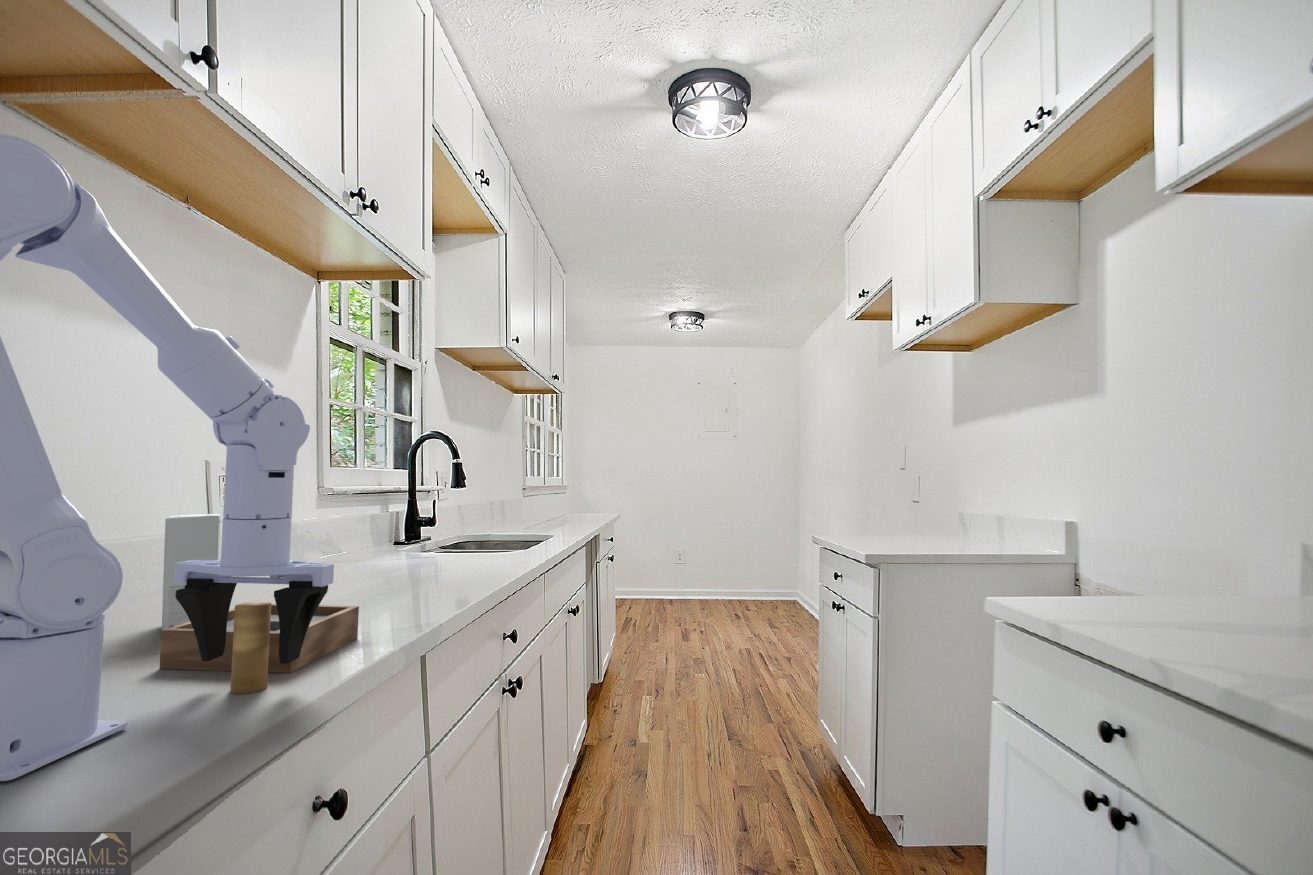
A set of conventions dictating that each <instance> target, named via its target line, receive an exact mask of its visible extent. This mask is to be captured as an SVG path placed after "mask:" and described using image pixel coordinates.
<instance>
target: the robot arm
mask: <svg viewBox="0 0 1313 875" xmlns="http://www.w3.org/2000/svg"><path fill="white" fill-rule="evenodd" d="M18 244H21V245H22V246H21V248H20V249H19V250H18V251H17V252H16V253H15V258H18V259H21V260H23V261H27V262H32V263H34V264H35V263H36V264H39V265H45V266H47V267H48V266H49V267H52V268H56V269H61V270H64V271H69V272H71V273H72V274H74V275H76V276H77V278H79V279H80V280H81V281H82V282H83V283H84V284H86V285H87V286H88V287H89V288H90V289H92V291H93V292H95V293H96V294H97V295H98V296H99V297H100V298H102V300H103V301H105V302H106V303H107V304H108V305H109V306H110V307H111V308H113V309H114V310H115V311H116V313H118V314H119V315H120V316H122V317H123V318H124V319H125V320H126V321H127V322H128V323H130V325H131V326H132V327H134V328H135V329H136V330H137V331H139V332H140V333H141V334H142V335H143V336H144V337H145V338H146V339H147V340H149V341H150V342H151V343H152V344H153V345H154V346H155V347H156V348H157V368H158V370H159V372H161V373H162V374H163V375H164V376H165V377H167V379H168V380H170V381H171V382H172V383H173V384H174V385H175V386H176V388H178V389H179V390H180V391H181V392H182V393H183V394H184V395H185V396H186V397H187V398H188V399H189V400H190V401H192V402H193V404H194V405H196V407H197V408H199V409H200V410H201V411H202V412H203V413H204V414H205V415H206V416H207V417H208V418H209V419H210V420H212V427H213V428H212V430H213V433H214V437H215V439H216V440H217V442H218V443H219V444H221V445H224V446H225V447H226V454H225V456H226V457H225V471H224V472H225V475H224V489H223V490H224V491H223V493H224V494H223V510H222V513H223V515H222V528H221V545H220V546H221V548H220V551H221V552H220V559H219V560H190V561H184V562H179V563H176V569H175V583H186V585H185V588H183V589H179V590H176V595H175V596H176V599H177V600H178V602H179V603H180V604H181V606H182V607H183V609H184V610H185V612H186V614H187V616H188V618H189V620H190V622H191V624H192V627H193V629H194V632H195V635H196V639H197V643H198V646H199V651H200V655H201V659H202V661H210V660H213V659H215V658H218V657H220V656H223V653H224V649H225V644H226V630H227V618H228V613H229V610H230V609H231V608H230V606H231V603H232V599H233V596H234V593H235V589H236V586H238V584H257V585H258V584H264V585H267V584H268V585H270V584H271V585H288V587H284V588H281V589H277V590H274V591H273V597H274V601H275V604H276V605H277V610H278V616H279V626H280V638H279V659H280V663H281V664H287V663H290V662H292V661H294V660H296V659H298V658H299V656H300V652H301V648H302V645H303V641H304V638H305V635H306V632H307V630H308V627H309V625H310V622H311V620H312V618H313V616H314V613H315V612H316V610H317V608H318V606H319V605H321V602H322V601H323V599H324V597H325V596H326V595H327V593H328V591H329V585H331V584H334V573H335V572H334V570H335V569H334V568H335V564H334V563H329V562H328V563H327V562H326V563H325V562H314V561H313V562H312V561H303V560H302V561H301V560H291V558H290V555H291V538H292V537H291V536H292V519H293V518H292V516H293V515H292V514H293V501H294V500H293V496H294V494H293V493H294V475H295V474H294V473H295V466H296V465H297V460H298V458H297V457H298V456H297V455H298V452H299V450H300V449H301V447H302V446H304V444H305V442H306V441H307V439H308V437H309V433H310V429H311V426H310V424H307V423H306V421H305V420H306V419H305V416H304V414H303V411H302V409H301V408H300V407H299V405H298V404H297V403H296V402H295V401H294V400H292V399H291V398H290V397H287V396H283V395H281V394H275V392H274V390H273V389H274V384H273V383H272V382H271V381H270V380H269V379H268V378H265V379H264V378H263V377H262V376H260V374H259V373H258V372H257V371H256V370H255V368H253V367H252V366H251V364H249V363H248V361H247V360H246V359H245V358H244V357H243V356H242V355H241V354H240V353H239V352H238V349H239V348H240V347H241V346H240V344H239V343H238V342H237V340H235V338H234V337H232V336H223V334H221V333H220V331H218V330H217V329H213V328H205V327H201V326H197V325H195V324H194V323H193V322H192V321H191V320H190V319H189V317H188V316H187V315H186V314H185V312H183V311H182V309H181V308H180V307H179V306H178V305H177V303H176V302H175V301H174V300H173V299H172V297H171V296H170V295H169V294H168V293H167V292H166V290H164V288H163V287H162V286H161V285H160V284H159V282H158V281H157V280H156V279H155V278H154V276H153V275H152V274H151V273H150V271H148V270H147V268H146V267H145V266H144V265H143V263H142V262H141V261H140V260H139V259H138V258H137V256H136V255H135V254H134V253H133V251H132V250H131V249H130V248H129V247H128V246H127V245H126V244H125V243H124V241H123V240H122V239H121V238H120V237H119V235H118V234H117V233H116V232H115V230H114V229H113V228H112V226H111V225H110V223H109V221H108V220H107V218H106V216H105V215H104V213H103V211H102V209H101V208H100V206H99V204H98V202H97V200H96V198H95V197H94V196H93V195H92V194H91V193H90V192H89V191H87V190H86V189H85V188H84V187H83V186H82V185H80V184H79V183H78V182H76V183H73V180H72V178H71V176H70V174H69V173H68V171H67V170H66V169H65V167H64V166H63V165H62V163H60V161H59V160H58V159H56V157H54V156H53V155H52V153H49V151H47V150H45V149H44V148H43V147H41V146H39V145H38V144H36V143H34V142H31V141H30V140H28V139H24V138H21V137H20V136H19V137H18V136H14V135H11V134H4V133H0V262H2V261H3V260H4V258H6V257H7V256H8V255H9V253H10V252H12V250H13V248H14V247H16V246H17V245H18ZM24 395H25V394H24V393H23V390H22V388H21V385H20V381H19V379H18V376H17V375H16V372H15V369H14V367H13V364H12V362H11V359H10V356H9V354H8V351H7V349H6V346H5V344H4V342H3V339H2V336H1V335H0V782H7V781H12V780H14V779H15V780H16V779H17V778H19V777H21V776H24V775H26V774H28V773H30V772H33V771H35V770H37V769H39V768H41V767H44V766H46V765H49V764H50V763H52V762H55V761H57V760H59V759H61V758H63V757H66V756H67V755H70V754H72V753H74V752H76V751H79V750H80V749H82V748H85V747H88V746H90V745H91V744H94V743H96V742H98V741H100V740H102V739H105V738H107V737H109V736H111V735H114V734H116V733H118V732H120V731H122V730H124V729H126V728H128V726H129V725H128V721H127V720H111V719H109V720H106V719H99V711H100V710H99V708H100V692H101V679H102V678H101V677H102V676H101V675H102V661H103V648H104V632H105V617H106V614H105V612H106V611H107V610H108V609H109V608H110V606H112V605H113V603H114V602H115V600H116V599H117V597H118V596H119V593H120V591H121V589H122V585H123V580H124V579H123V578H124V574H123V568H122V566H121V563H120V561H119V560H118V558H117V556H115V554H114V553H113V552H112V551H111V550H109V549H108V548H106V547H105V546H104V545H102V544H101V543H100V542H99V541H98V540H97V539H96V538H95V537H94V535H93V533H92V531H91V530H90V529H91V528H90V526H89V523H88V521H87V519H86V518H85V517H84V516H83V515H82V514H81V513H80V511H79V510H78V509H77V508H76V507H75V506H74V505H73V504H72V503H71V502H70V501H69V500H68V499H67V498H66V497H65V495H64V494H63V492H62V490H61V487H60V485H59V482H58V480H57V477H56V475H55V471H54V470H53V467H52V464H51V462H50V459H49V457H48V454H47V451H46V448H45V447H44V443H43V441H42V438H41V436H40V434H39V431H38V429H37V426H36V425H37V424H36V423H35V421H34V418H33V416H32V413H31V410H30V408H29V404H28V402H27V400H26V398H25V396H24ZM263 576H264V577H263Z"/></svg>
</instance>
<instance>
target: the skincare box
mask: <svg viewBox="0 0 1313 875" xmlns="http://www.w3.org/2000/svg"><path fill="white" fill-rule="evenodd" d="M164 523H165V525H164V548H163V549H164V550H163V551H164V553H163V578H162V580H163V581H162V609H161V611H162V612H161V614H162V615H161V631H162V630H163V629H167V628H170V627H173V626H177V625H180V624H183V623H186V622H190V620H189V618H188V616H187V614H186V612H185V610H184V609H183V607H182V606H181V604H180V603H179V602H178V600H177V599H176V596H175V595H176V590H179V589H183V588H185V585H186V583H175V569H176V563H179V562H184V561H190V560H220V546H221V545H220V544H221V541H220V539H221V514H220V513H204V514H203V513H202V514H201V513H200V514H178V515H176V514H175V515H169V516H167V517H166V518H165V522H164Z"/></svg>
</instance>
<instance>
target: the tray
mask: <svg viewBox="0 0 1313 875" xmlns="http://www.w3.org/2000/svg"><path fill="white" fill-rule="evenodd" d="M359 611H360V606H359V605H357V606H355V605H327V604H326V605H324V604H322V605H321V604H319V606H318V608H317V610H316V612H315V613H314V616H313V618H312V620H311V622H310V625H309V627H308V630H307V632H306V635H305V638H304V641H303V645H302V648H301V652H300V656H299V658H298V659H296V660H294V661H292V662H290V663H287V664H281V663H280V659H279V638H280V626H279V616H278V610H277V605H276V603H271V621H270V641H269V660H268V673H284V674H291V673H294V672H295V671H297V670H299V669H301V668H303V667H305V666H307V665H309V664H311V663H313V662H315V661H317V660H319V659H320V658H323V657H325V656H326V655H329V654H330V653H332V652H334V651H336V650H339V649H341V648H342V647H343V646H346V645H348V644H350V643H352V642H354V641H356V640H358V637H359V636H358V635H359V615H360V614H359ZM234 615H235V607H234V608H229V613H228V618H227V630H226V644H225V649H224V653H223V656H220V657H218V658H215V659H213V660H210V661H202V659H201V655H200V651H199V646H198V643H197V639H196V635H195V632H194V629H193V627H192V624H191V622H186V623H183V624H180V625H177V626H173V627H170V628H167V629H163V630H162V629H161V635H160V636H161V640H160V656H159V668H158V669H159V670H183V671H184V670H185V671H187V670H189V671H191V670H192V671H217V672H218V671H219V672H221V671H222V672H231V669H232V651H233V633H234Z"/></svg>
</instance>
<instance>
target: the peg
mask: <svg viewBox="0 0 1313 875" xmlns="http://www.w3.org/2000/svg"><path fill="white" fill-rule="evenodd" d="M271 604H272V602H270V601H249V602H248V601H247V602H242V603H238V604H236V605H235V606H234V608H235V615H234V633H233V651H232V669H231V671H230V672H231V674H230V690H229V691H230V692H229V693H231V694H233V695H249V694H253V693H258V692H261V691H263V690H265V689H267V687H268V677H269V676H268V675H269V674H268V673H269V672H268V660H269V641H270V621H271Z"/></svg>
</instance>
